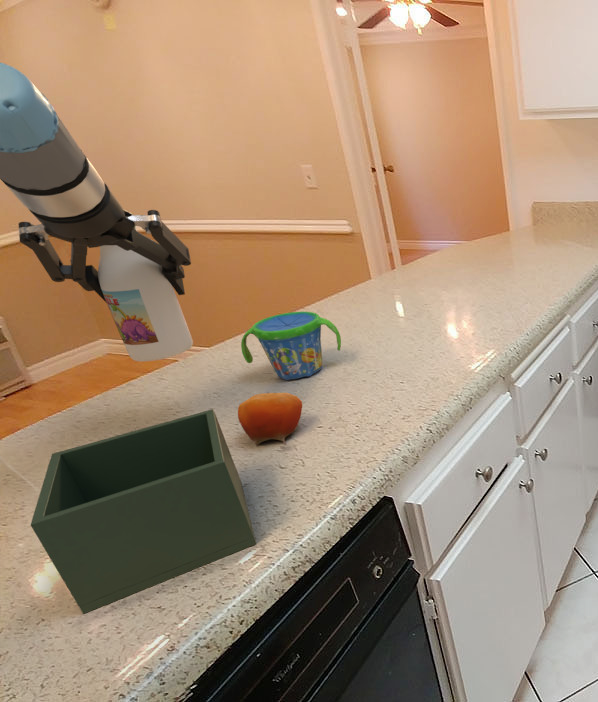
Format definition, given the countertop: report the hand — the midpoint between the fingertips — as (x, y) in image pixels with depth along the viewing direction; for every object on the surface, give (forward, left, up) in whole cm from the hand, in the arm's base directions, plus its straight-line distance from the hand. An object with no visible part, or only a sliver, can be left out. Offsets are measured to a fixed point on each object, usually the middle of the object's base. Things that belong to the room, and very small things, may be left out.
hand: (146, 291), depth 83 cm
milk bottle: (+3, -1, -9) cm, 9 cm away
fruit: (+18, +10, -20) cm, 29 cm away
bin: (+36, -3, -20) cm, 41 cm away
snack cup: (-4, +17, -20) cm, 27 cm away
